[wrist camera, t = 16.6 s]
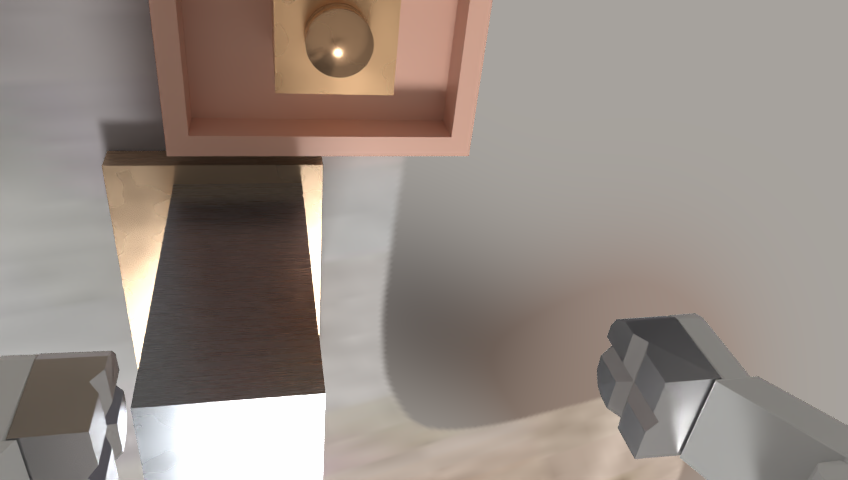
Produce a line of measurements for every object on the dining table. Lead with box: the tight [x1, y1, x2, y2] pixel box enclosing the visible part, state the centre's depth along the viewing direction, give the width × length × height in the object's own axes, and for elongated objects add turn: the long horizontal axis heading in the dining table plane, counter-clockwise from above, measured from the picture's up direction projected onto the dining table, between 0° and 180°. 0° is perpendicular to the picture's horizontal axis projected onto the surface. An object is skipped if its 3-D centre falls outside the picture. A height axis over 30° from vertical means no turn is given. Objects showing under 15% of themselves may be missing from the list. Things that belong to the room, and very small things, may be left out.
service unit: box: [102, 151, 325, 480], centre depth 31 cm, size 14×10×16 cm
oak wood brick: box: [271, 0, 401, 95], centre depth 27 cm, size 4×4×7 cm
